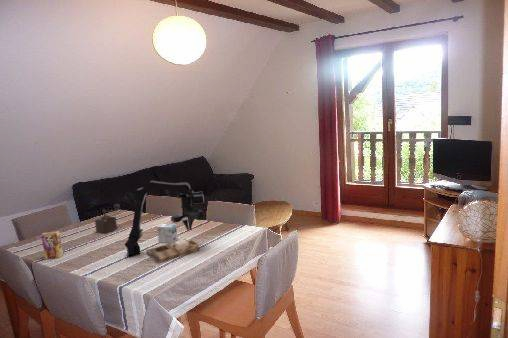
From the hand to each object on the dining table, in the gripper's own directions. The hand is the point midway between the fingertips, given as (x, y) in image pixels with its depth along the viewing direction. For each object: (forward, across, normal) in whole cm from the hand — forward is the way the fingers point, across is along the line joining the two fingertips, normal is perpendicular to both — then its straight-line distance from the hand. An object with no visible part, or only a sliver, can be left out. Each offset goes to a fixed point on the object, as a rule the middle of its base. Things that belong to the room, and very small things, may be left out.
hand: (189, 230), depth 210 cm
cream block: (+10, -5, 0) cm, 11 cm away
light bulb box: (+12, -5, +24) cm, 27 cm away
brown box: (+12, -28, +78) cm, 83 cm away
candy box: (+12, -67, +49) cm, 83 cm away
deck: (+12, -10, +4) cm, 16 cm away
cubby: (+10, -3, 0) cm, 10 cm away
